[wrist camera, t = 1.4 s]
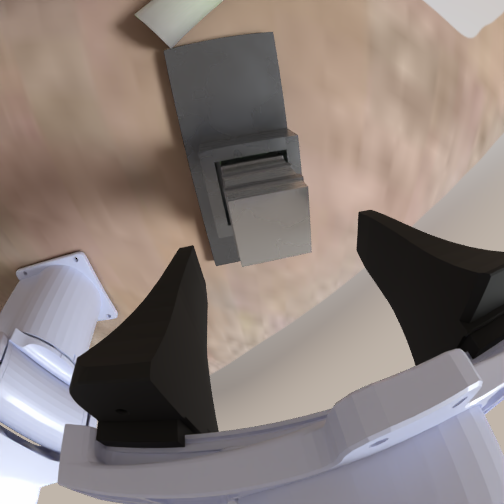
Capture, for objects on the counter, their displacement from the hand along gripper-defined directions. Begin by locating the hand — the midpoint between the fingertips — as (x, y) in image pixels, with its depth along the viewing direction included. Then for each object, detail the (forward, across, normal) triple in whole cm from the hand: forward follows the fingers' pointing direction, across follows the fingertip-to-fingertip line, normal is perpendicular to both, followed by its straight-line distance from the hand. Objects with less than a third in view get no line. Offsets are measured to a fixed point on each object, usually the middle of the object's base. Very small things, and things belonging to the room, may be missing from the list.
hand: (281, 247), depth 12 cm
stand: (+10, 0, -1) cm, 10 cm away
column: (+10, 0, 0) cm, 10 cm away
